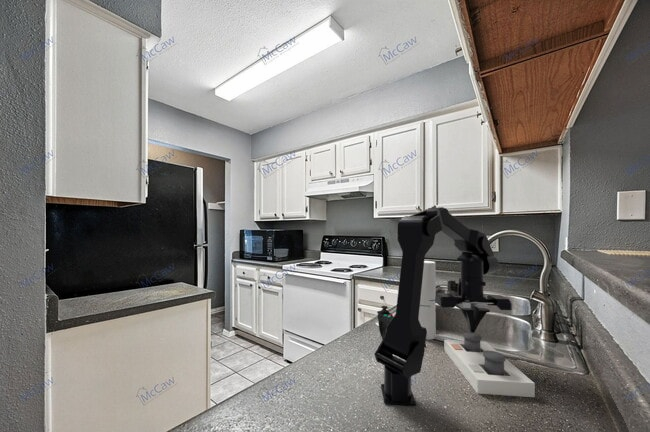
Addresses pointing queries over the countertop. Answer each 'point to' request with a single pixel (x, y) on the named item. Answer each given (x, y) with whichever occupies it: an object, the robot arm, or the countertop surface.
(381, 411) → the countertop surface
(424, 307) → the cylindrical container
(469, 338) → the far button
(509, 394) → the panel
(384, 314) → the controller
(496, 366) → the near button
